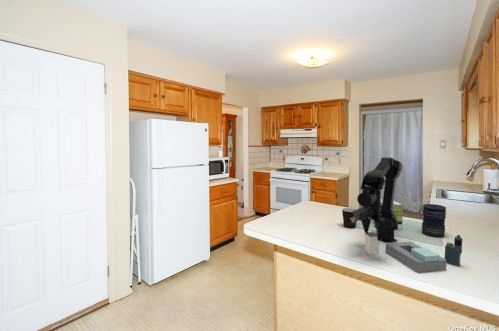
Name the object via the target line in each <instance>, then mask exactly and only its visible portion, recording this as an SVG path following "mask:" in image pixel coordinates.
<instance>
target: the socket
mask: <svg viewBox="0 0 499 331" xmlns="http://www.w3.org/2000/svg"><path fill="white" fill-rule="evenodd" d="M414 248H423V247H422V246H420V245H418V244H416V243H414V242H412V241H402V242H401V241H400V242H385V253H386V254H388V255H389V256H391V257H392V258H394V259H396V260H397V261H399V262H400V263H402V264H403V265H405V266H406V267H407V268H410V269H411V270H413V271H415V272H416V273H417V274H421V273H430V272H441V270H442V271H447V264H448V263H447V260H446V259H445V257H442V256H440V260H438V261H427V262H425V261H423V260H422V259H420V258H418V257H416V256H414V255H413V254H411V249H414Z"/></svg>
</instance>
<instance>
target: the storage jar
mask: <svg viewBox="0 0 499 331" xmlns="http://www.w3.org/2000/svg"><path fill="white" fill-rule="evenodd" d="M422 207H423V208H422V222H421V233H422V235H424V236H426V237H430V238H436V239H439V238H445V233H446V225H445V224H446V215H447V207H446V206H444V205H441V204H434V203H425V204H423V205H422Z"/></svg>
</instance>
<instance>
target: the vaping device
mask: <svg viewBox="0 0 499 331" xmlns="http://www.w3.org/2000/svg"><path fill="white" fill-rule="evenodd" d="M462 252H463V238H462V237H461V235H460V234H457V235H456V236H455V237H454V243H453V242H450V241H447V242H446V244H445V246H444V259H446V260H447V264H449V265H453V266H456V267H461V256H462V255H461V254H462Z"/></svg>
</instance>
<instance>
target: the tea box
mask: <svg viewBox="0 0 499 331" xmlns="http://www.w3.org/2000/svg"><path fill="white" fill-rule="evenodd" d="M382 203H383V198H381V204H380V205H382ZM380 209H381V208H380ZM393 211H394V212H395V214H396V217H395V218H396V220H397V222H398V230H397V231H402V230H403V215H404V204H403V203H401V202H398V201H396V200H393ZM371 222H372V223H374V220H372V219H371Z"/></svg>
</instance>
